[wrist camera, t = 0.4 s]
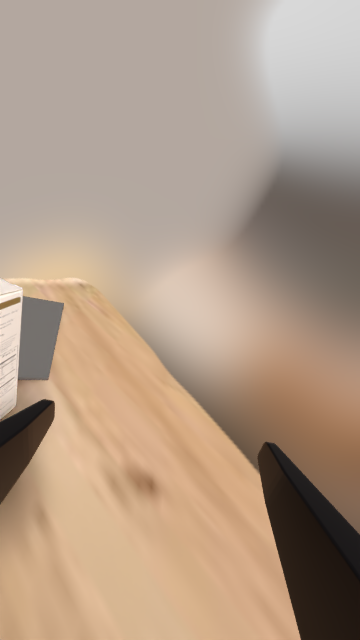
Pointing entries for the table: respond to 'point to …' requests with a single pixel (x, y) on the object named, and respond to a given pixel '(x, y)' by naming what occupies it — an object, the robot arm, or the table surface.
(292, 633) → the table surface
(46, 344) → the mat
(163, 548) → the table surface
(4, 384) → the syrup box
